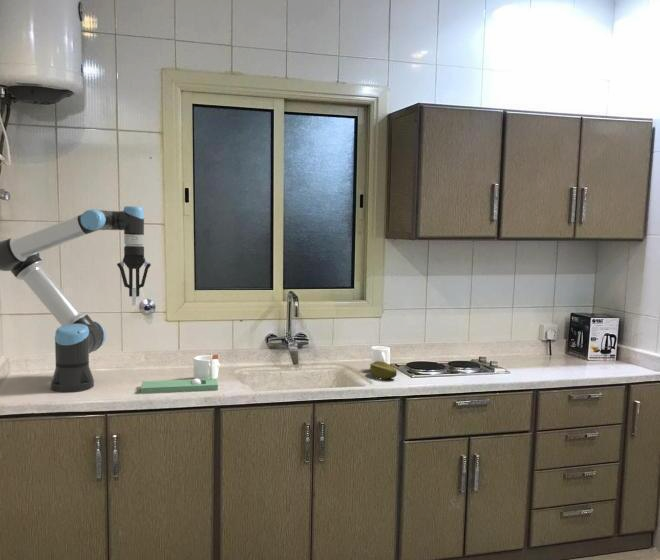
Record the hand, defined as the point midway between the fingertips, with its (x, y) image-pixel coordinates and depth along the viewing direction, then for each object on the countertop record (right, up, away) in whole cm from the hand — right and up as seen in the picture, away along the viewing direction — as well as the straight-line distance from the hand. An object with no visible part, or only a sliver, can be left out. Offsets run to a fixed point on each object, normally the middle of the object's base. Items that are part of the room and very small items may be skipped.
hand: (134, 304), depth 238 cm
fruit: (+101, -32, +16) cm, 107 cm away
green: (+20, -32, -9) cm, 39 cm away
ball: (+26, -30, -8) cm, 41 cm away
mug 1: (+28, -31, +4) cm, 42 cm away
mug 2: (+101, -31, +26) cm, 108 cm away
